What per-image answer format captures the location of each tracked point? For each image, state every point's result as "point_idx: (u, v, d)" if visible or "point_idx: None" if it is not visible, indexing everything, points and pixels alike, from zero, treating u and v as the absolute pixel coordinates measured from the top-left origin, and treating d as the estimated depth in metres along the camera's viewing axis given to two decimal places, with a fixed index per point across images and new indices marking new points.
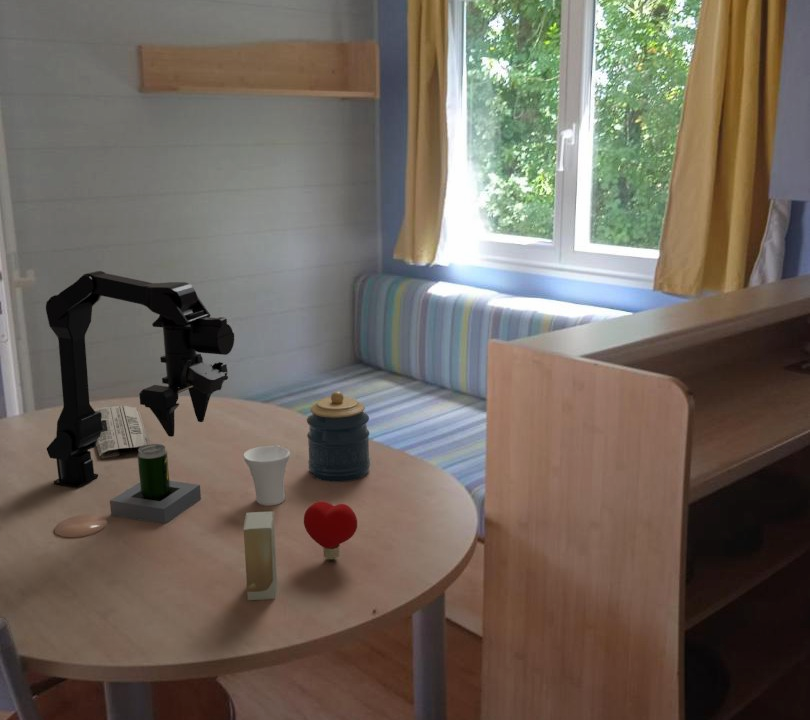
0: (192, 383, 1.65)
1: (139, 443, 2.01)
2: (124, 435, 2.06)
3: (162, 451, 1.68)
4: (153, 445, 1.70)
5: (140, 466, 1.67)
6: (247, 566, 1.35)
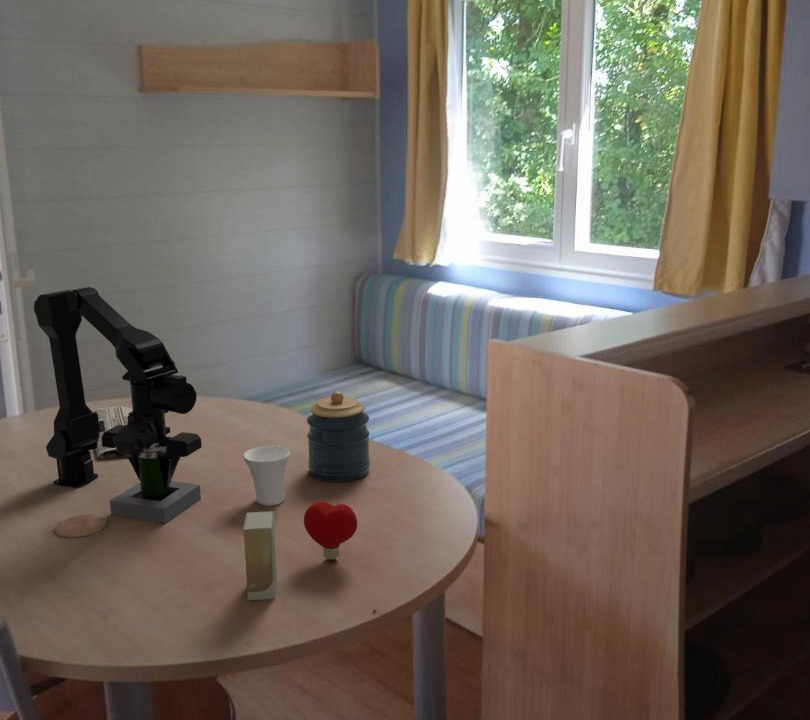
0: None
1: None
2: None
3: (162, 451, 1.68)
4: (153, 445, 1.70)
5: (140, 466, 1.67)
6: (247, 566, 1.35)
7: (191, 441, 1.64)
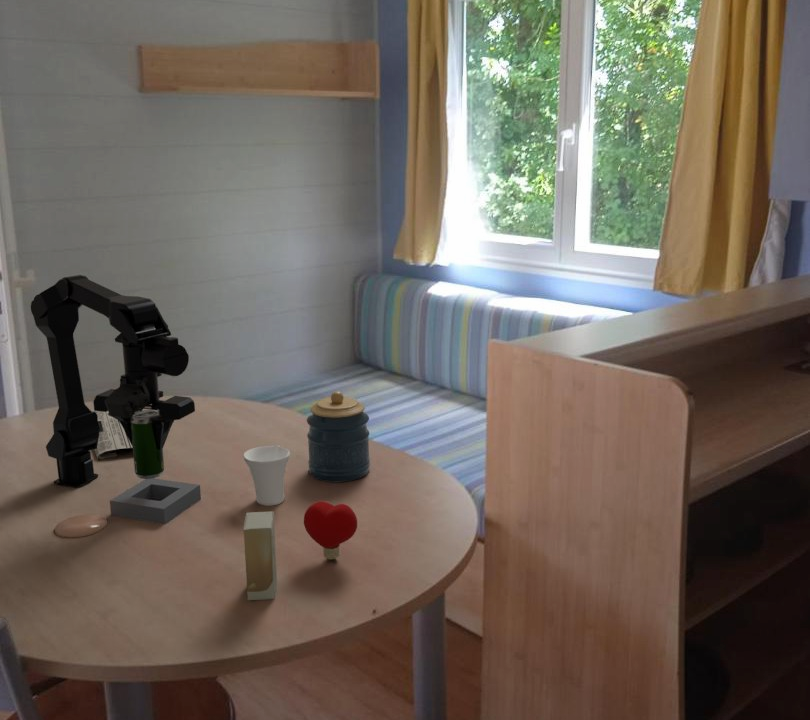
0: None
1: None
2: (121, 435, 2.05)
3: None
4: (146, 411, 1.68)
5: (133, 432, 1.65)
6: (247, 566, 1.35)
7: (184, 404, 1.62)
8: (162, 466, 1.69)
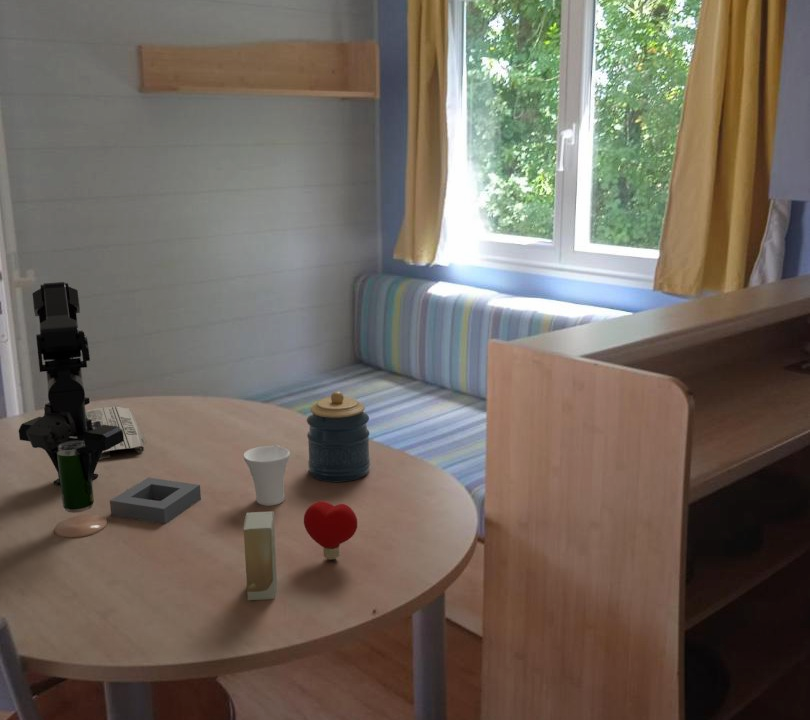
0: None
1: (136, 443, 2.01)
2: None
3: None
4: (74, 442, 1.61)
5: (59, 464, 1.58)
6: (247, 566, 1.35)
7: (111, 434, 1.55)
8: (91, 499, 1.62)
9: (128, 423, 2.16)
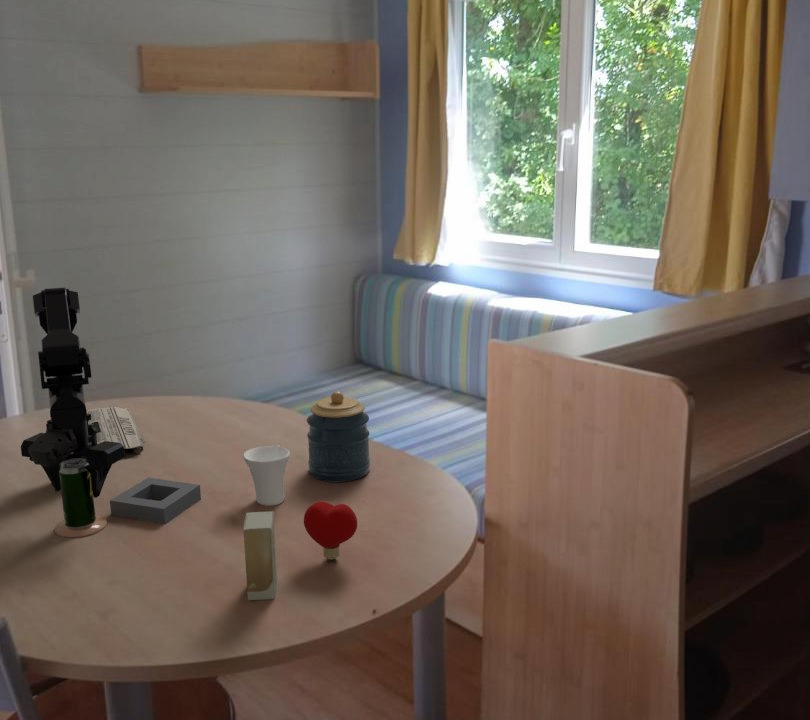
0: None
1: (135, 443, 2.01)
2: (119, 436, 2.05)
3: (84, 466, 1.59)
4: (76, 460, 1.62)
5: (61, 482, 1.59)
6: (247, 566, 1.35)
7: (113, 451, 1.56)
8: (93, 516, 1.62)
9: (126, 423, 2.15)
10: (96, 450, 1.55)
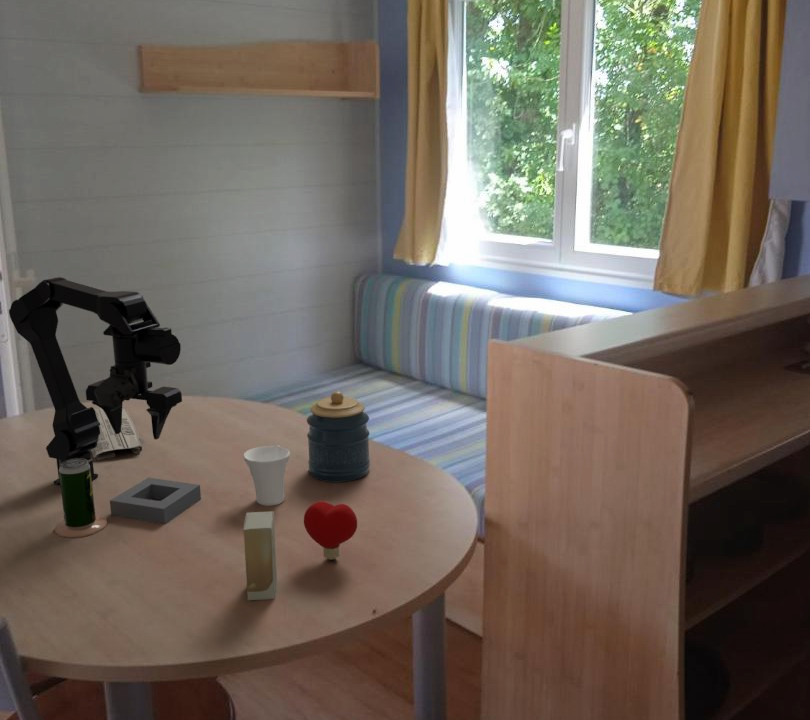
0: None
1: (134, 443, 2.00)
2: (117, 436, 2.05)
3: (84, 466, 1.59)
4: (76, 460, 1.62)
5: (61, 482, 1.59)
6: (247, 566, 1.35)
7: (171, 394, 1.68)
8: (93, 516, 1.62)
9: (125, 423, 2.15)
10: (156, 393, 1.67)
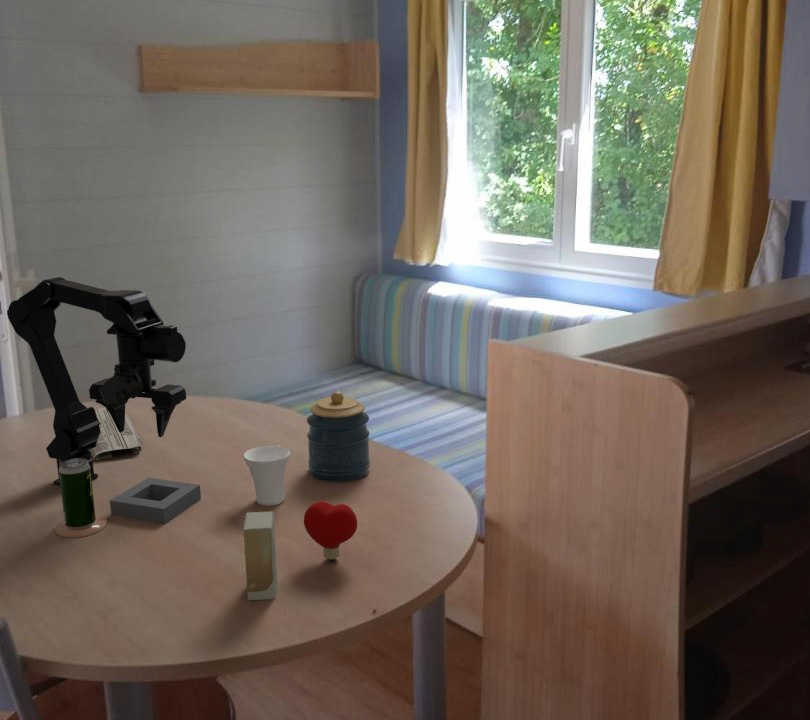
0: None
1: (133, 444, 2.00)
2: (116, 436, 2.05)
3: (84, 466, 1.59)
4: (76, 460, 1.62)
5: (61, 482, 1.59)
6: (247, 566, 1.35)
7: (176, 392, 1.69)
8: (93, 517, 1.62)
9: None
10: (161, 391, 1.68)
